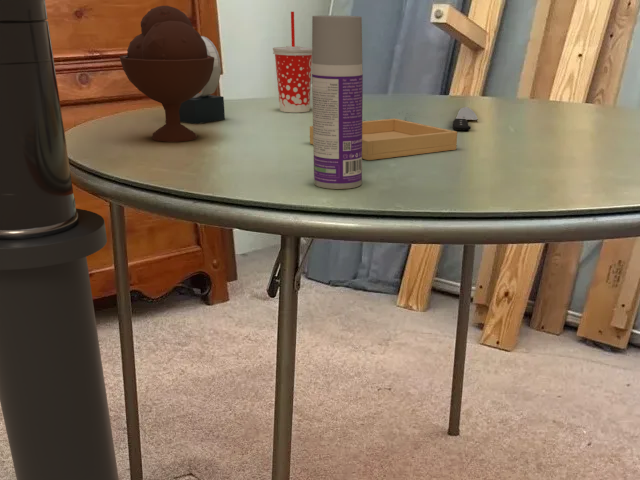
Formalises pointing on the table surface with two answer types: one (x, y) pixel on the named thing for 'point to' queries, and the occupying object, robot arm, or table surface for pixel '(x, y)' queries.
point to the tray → (401, 139)
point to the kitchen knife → (464, 119)
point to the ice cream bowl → (168, 66)
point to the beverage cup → (293, 75)
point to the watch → (205, 96)
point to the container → (337, 101)
